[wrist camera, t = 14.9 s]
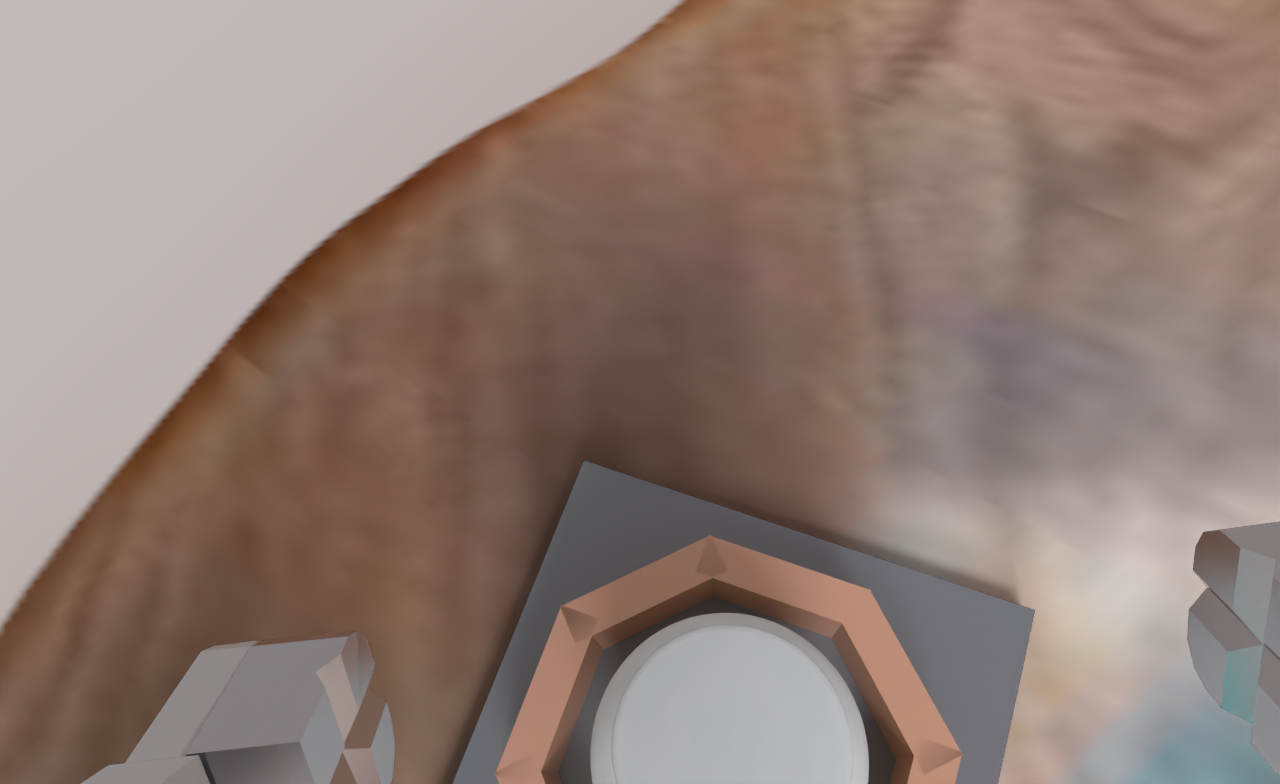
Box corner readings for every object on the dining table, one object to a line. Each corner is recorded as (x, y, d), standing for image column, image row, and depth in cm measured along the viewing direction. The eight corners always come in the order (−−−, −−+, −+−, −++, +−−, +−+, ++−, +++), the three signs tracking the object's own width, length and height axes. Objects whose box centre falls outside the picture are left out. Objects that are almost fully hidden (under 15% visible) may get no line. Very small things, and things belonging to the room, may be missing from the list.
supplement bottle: (656, 909, 23) (617, 985, 14) (595, 691, 25) (529, 639, 16) (864, 838, 23) (952, 869, 14) (786, 628, 25) (822, 542, 17)
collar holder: (905, 1158, 22) (937, 1223, 18) (404, 927, 24) (355, 949, 21) (1024, 616, 26) (1066, 592, 23) (588, 470, 29) (571, 430, 25)
